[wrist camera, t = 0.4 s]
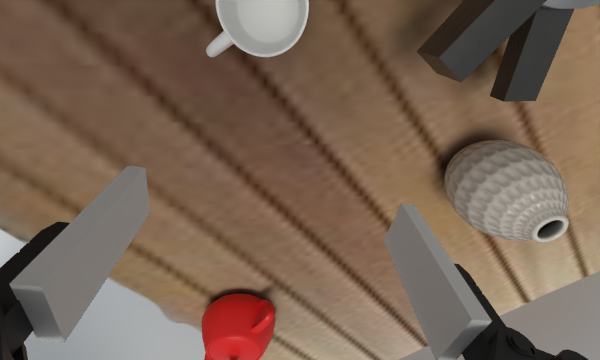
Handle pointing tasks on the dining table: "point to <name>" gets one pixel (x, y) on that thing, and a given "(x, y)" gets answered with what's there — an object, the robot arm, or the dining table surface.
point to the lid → (481, 32)
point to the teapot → (237, 327)
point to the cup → (259, 26)
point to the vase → (508, 191)
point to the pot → (530, 55)
